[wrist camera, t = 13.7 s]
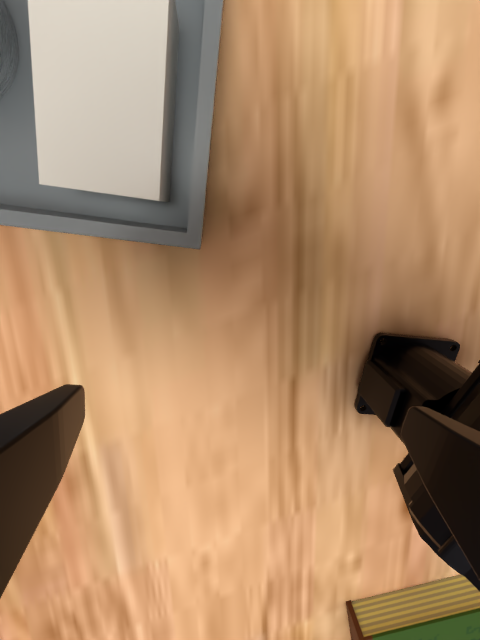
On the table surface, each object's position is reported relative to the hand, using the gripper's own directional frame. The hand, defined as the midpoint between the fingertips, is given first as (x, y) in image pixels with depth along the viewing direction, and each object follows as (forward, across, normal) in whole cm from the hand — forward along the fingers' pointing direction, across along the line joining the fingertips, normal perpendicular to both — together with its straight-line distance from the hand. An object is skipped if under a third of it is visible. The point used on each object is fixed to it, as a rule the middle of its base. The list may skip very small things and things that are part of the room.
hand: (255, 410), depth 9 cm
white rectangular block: (+12, +6, -9) cm, 16 cm away
